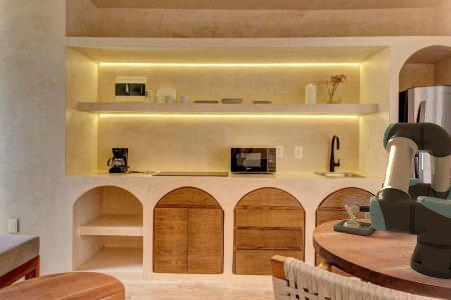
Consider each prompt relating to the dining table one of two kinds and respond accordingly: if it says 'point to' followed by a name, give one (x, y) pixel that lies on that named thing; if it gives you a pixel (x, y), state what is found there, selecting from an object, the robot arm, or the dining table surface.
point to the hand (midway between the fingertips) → (356, 212)
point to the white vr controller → (352, 220)
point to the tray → (363, 230)
